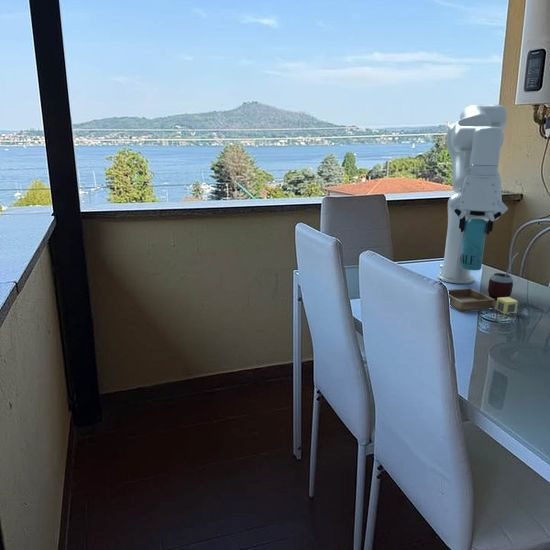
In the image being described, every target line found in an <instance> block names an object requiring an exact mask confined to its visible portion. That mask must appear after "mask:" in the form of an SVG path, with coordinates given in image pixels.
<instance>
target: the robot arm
mask: <svg viewBox="0 0 550 550" xmlns="http://www.w3.org/2000/svg"><path fill="white" fill-rule="evenodd" d="M507 115H508V113H507V109H506V108H505V106H504V105H501V104H472V105H469V106H466V107H465V108H464V109H463V110H462V111H461V113H460V116H459V120H457V121H456V122H454V123H452V124H451V125H450V126H449V127H448V129H447V130H446V147H447V152H448V155H449V157H450V159H451V163H452V167H451V168H452V169H451V170H452V171H451V173H452V175H451V176H452V177H451V179H452V180H451V182H452V183H451V185H452V190H453V191H454V192H455V193H454V194H452V195H450V196H449V198H448V201H447V231H446V240H445V250H444V256H443V257H444V259H443V263H442V264H439V268H441V272H438V274H437V278H438V279H439V280H440V279H441V281H443V282H446V283H450V284H462V285H465V284H472V283H474V282H475V277H474V276H473V275H472V274H471V272H472V270H466V269H462V268H461V267H460V256H461V252H462V244H463V241H462V240H463V233H464V229H465V222H466V221H467V220H468V219H469V218H480V219H484V220H485V221H486V222H487V229H486V235H489V234H490V232H493V229H494V222H495V221H496V220H498V219H499V218H500V217H501V216H502V215H503V214H505V213H506V212H508V209H509V208H508V206H507V205H506V204H505V203H504V202H503V199H502V181H501V174H500V172H499V171H498V170H499V169H498V168H499V163H500V157H501V156H500V155H501V150H502V149H501V148H502V146H503V145H504V141H505V139H504V138H505V134H504V129H505V126H506V123H507V118H508V117H507ZM470 211H479V212H485V215H484V216H475V215H470Z"/></svg>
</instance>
